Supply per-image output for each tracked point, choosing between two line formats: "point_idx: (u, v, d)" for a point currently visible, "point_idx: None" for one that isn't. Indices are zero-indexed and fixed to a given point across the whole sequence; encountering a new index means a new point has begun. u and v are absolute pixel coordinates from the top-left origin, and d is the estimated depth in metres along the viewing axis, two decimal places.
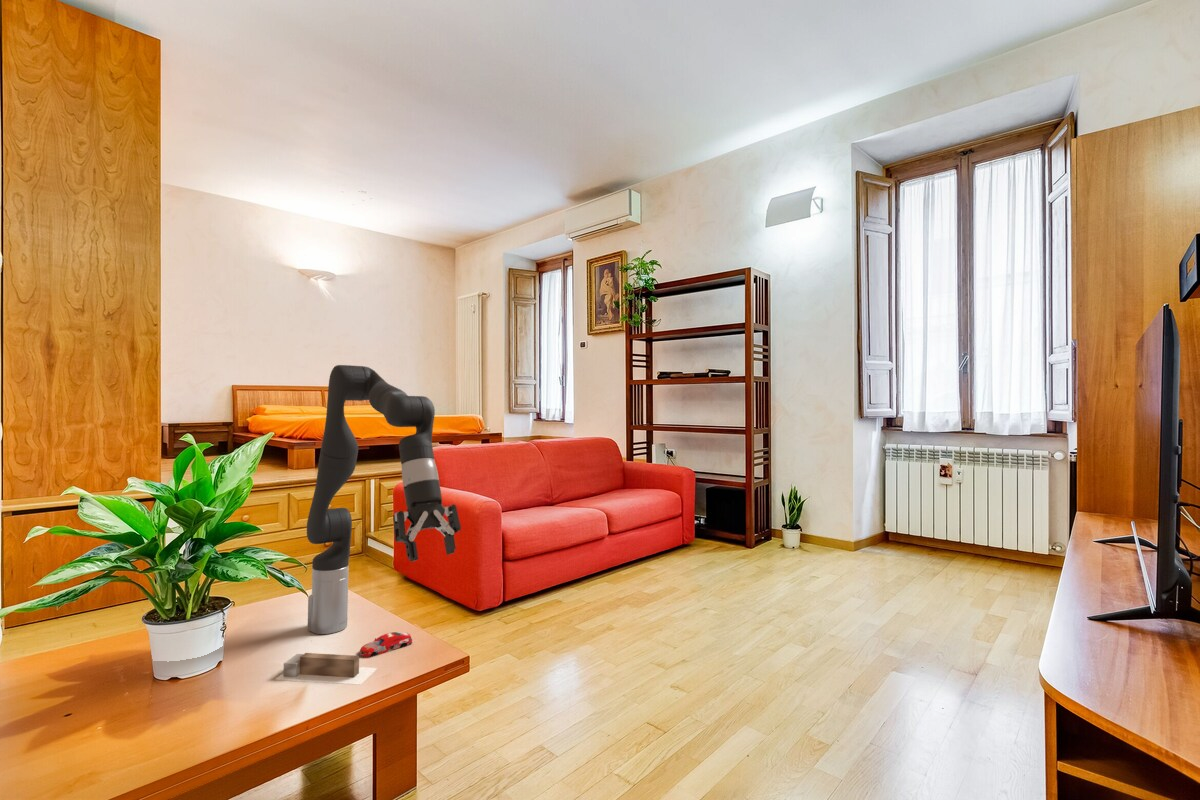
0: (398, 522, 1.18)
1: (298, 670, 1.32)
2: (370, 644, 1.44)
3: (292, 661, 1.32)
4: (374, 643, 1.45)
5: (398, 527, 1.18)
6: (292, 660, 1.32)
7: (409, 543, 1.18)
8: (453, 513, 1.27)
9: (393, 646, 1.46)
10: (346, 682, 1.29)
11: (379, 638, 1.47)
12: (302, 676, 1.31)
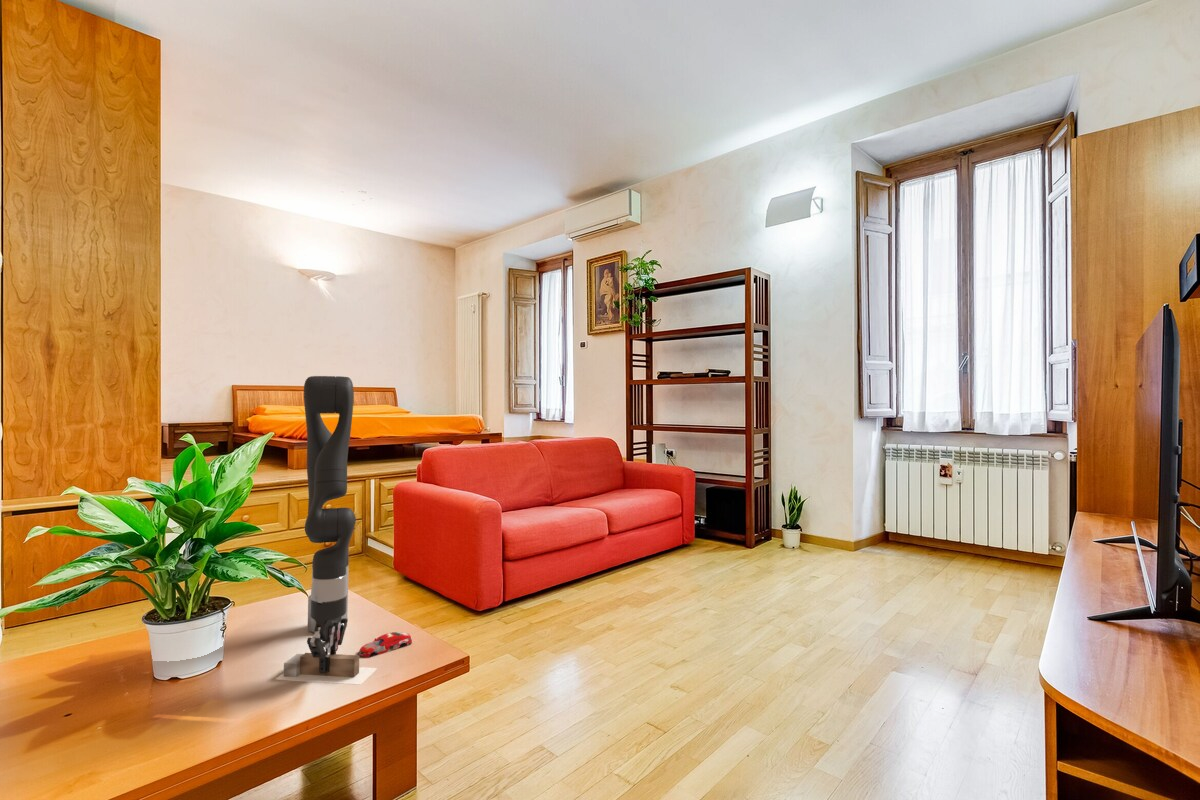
0: (318, 648, 1.27)
1: (299, 670, 1.32)
2: (369, 644, 1.44)
3: (292, 661, 1.32)
4: (374, 643, 1.45)
5: (318, 651, 1.28)
6: (292, 660, 1.32)
7: (325, 658, 1.31)
8: (343, 626, 1.37)
9: (393, 646, 1.46)
10: (346, 682, 1.29)
11: (379, 638, 1.47)
12: (302, 676, 1.31)
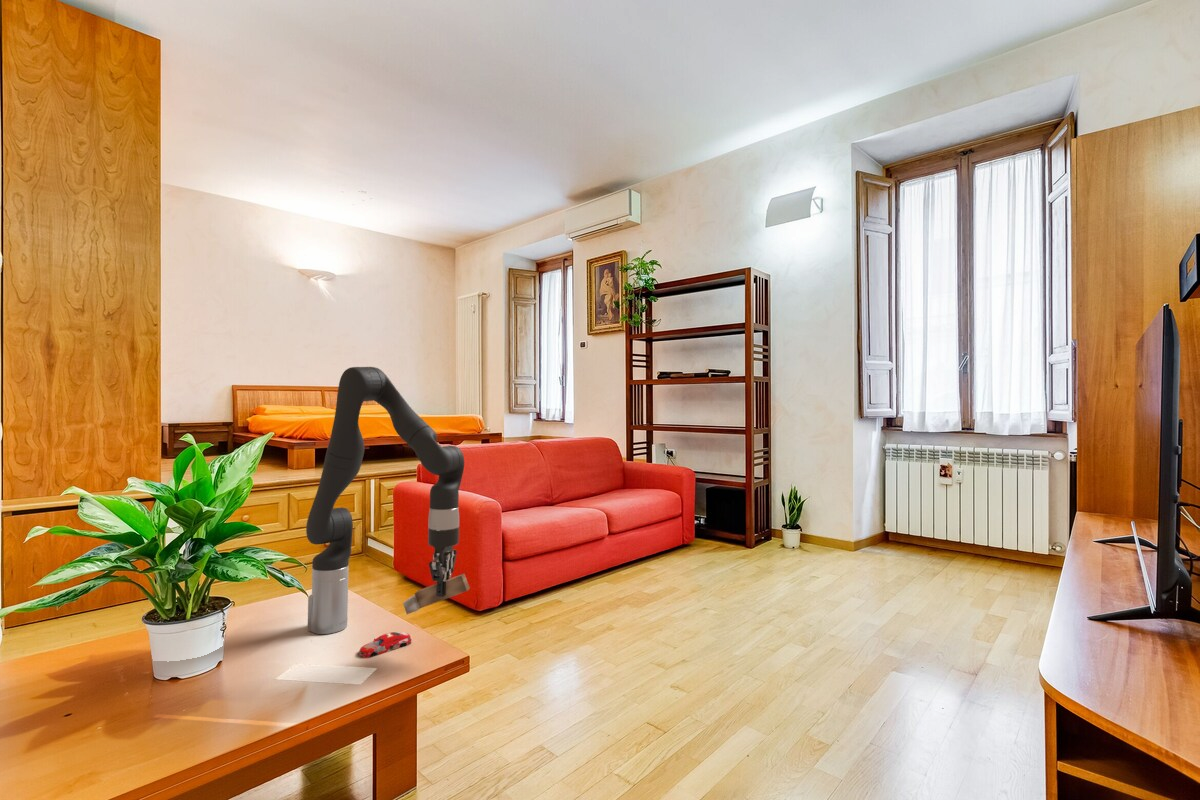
0: (438, 571, 1.39)
1: (418, 605, 1.44)
2: (369, 645, 1.44)
3: (409, 599, 1.44)
4: (373, 643, 1.45)
5: (438, 574, 1.40)
6: (409, 599, 1.45)
7: (442, 582, 1.43)
8: (454, 557, 1.50)
9: (393, 646, 1.46)
10: (346, 682, 1.29)
11: (378, 638, 1.46)
12: (302, 676, 1.31)
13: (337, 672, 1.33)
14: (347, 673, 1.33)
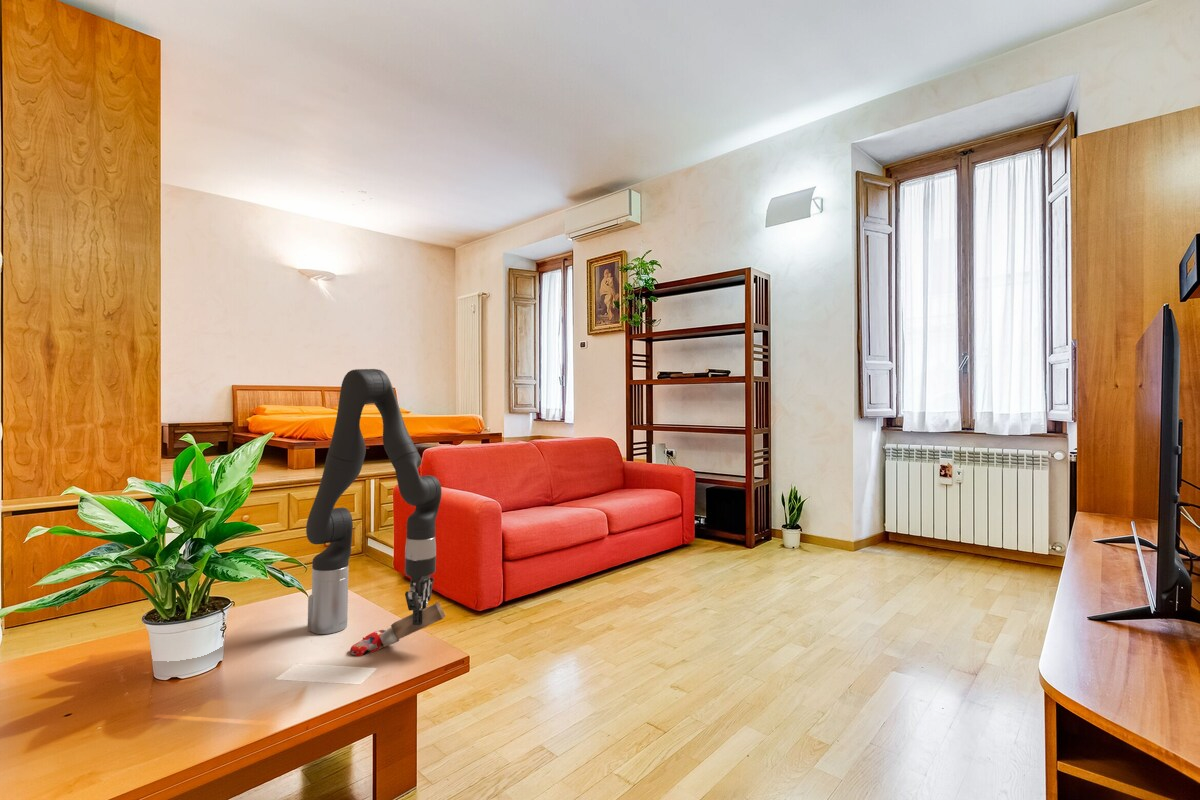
0: (414, 601, 1.41)
1: (395, 636, 1.46)
2: (360, 643, 1.45)
3: (386, 632, 1.46)
4: (364, 642, 1.46)
5: (414, 604, 1.41)
6: (386, 631, 1.46)
7: (418, 612, 1.44)
8: (431, 584, 1.51)
9: None
10: (346, 682, 1.29)
11: (368, 637, 1.47)
12: (302, 676, 1.31)
13: (337, 672, 1.33)
14: (347, 673, 1.33)
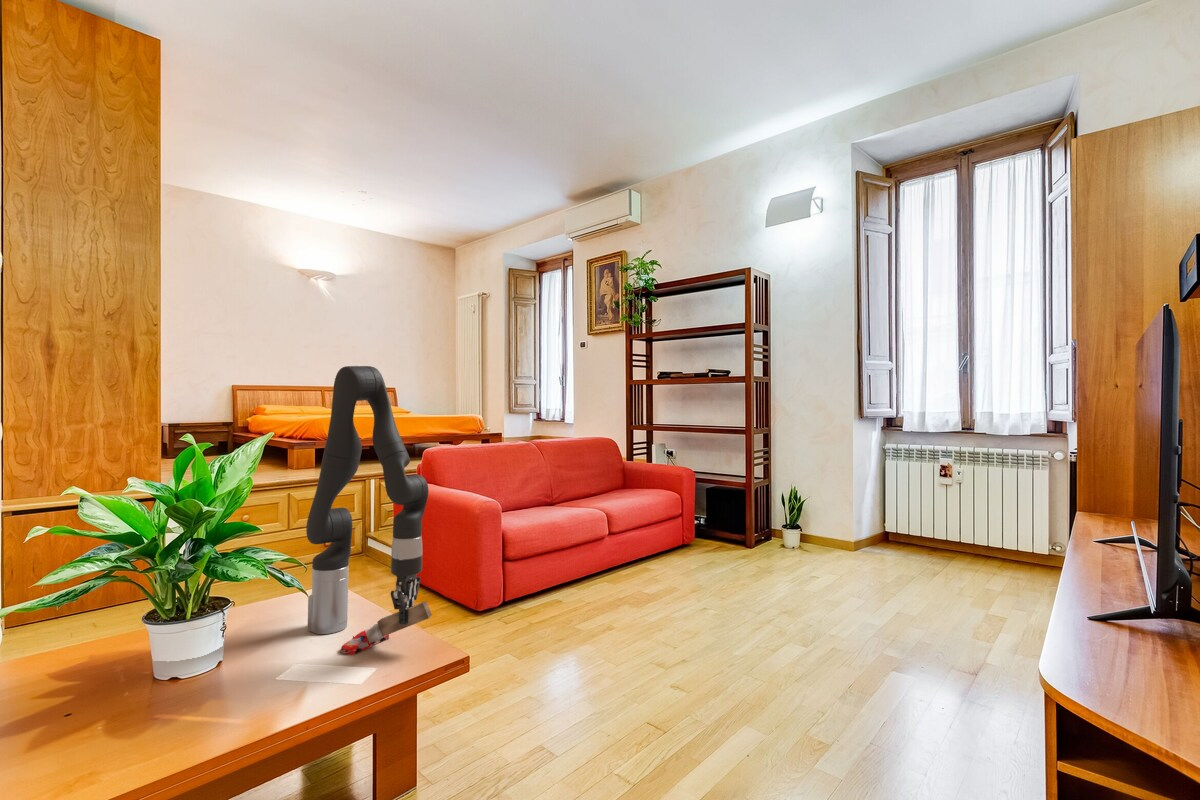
0: (400, 600, 1.41)
1: (380, 633, 1.46)
2: (351, 642, 1.46)
3: (372, 628, 1.46)
4: (355, 640, 1.46)
5: (400, 603, 1.42)
6: (372, 628, 1.46)
7: (405, 611, 1.45)
8: (418, 584, 1.51)
9: (374, 641, 1.49)
10: (346, 682, 1.29)
11: (358, 635, 1.48)
12: (302, 676, 1.31)
13: (337, 672, 1.33)
14: (347, 673, 1.33)
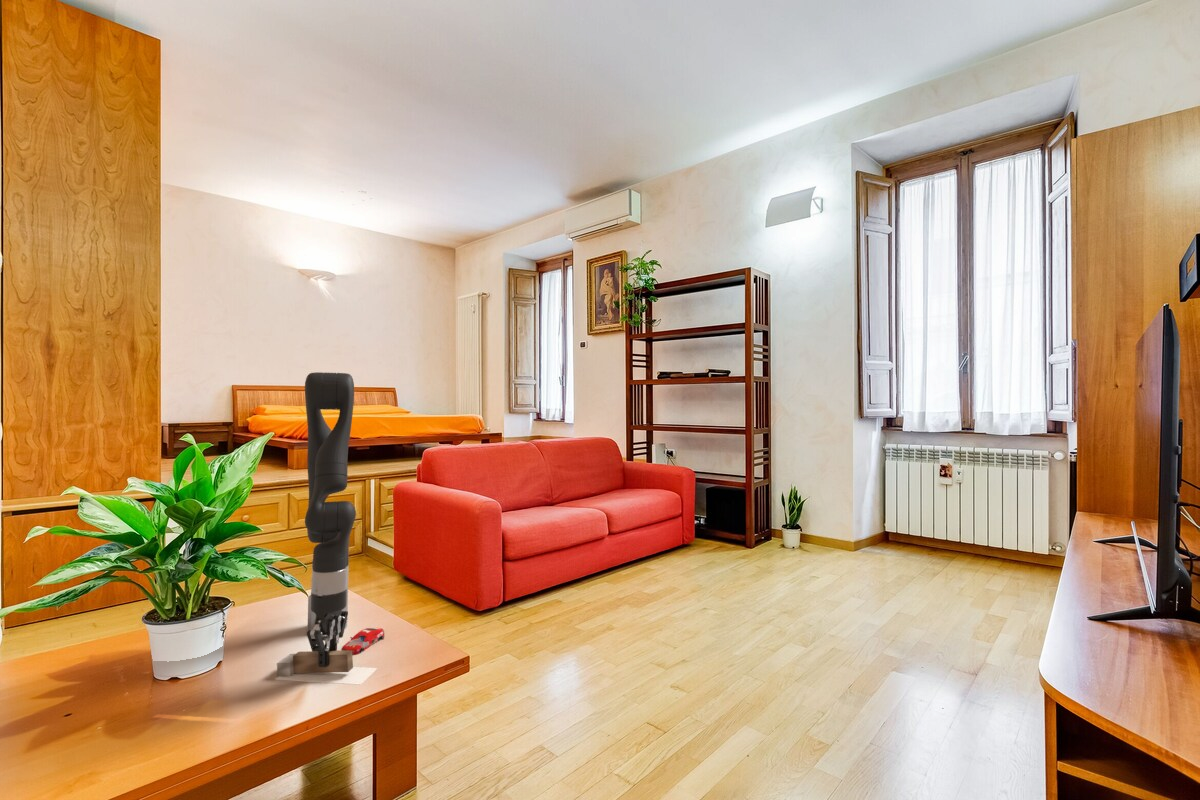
0: (317, 640, 1.27)
1: (292, 669, 1.32)
2: (352, 643, 1.45)
3: (286, 660, 1.32)
4: (355, 641, 1.46)
5: (318, 644, 1.27)
6: (285, 659, 1.32)
7: (324, 652, 1.30)
8: (344, 619, 1.38)
9: (373, 640, 1.49)
10: (346, 682, 1.29)
11: (357, 636, 1.48)
12: (302, 676, 1.31)
13: (337, 672, 1.33)
14: (347, 673, 1.33)
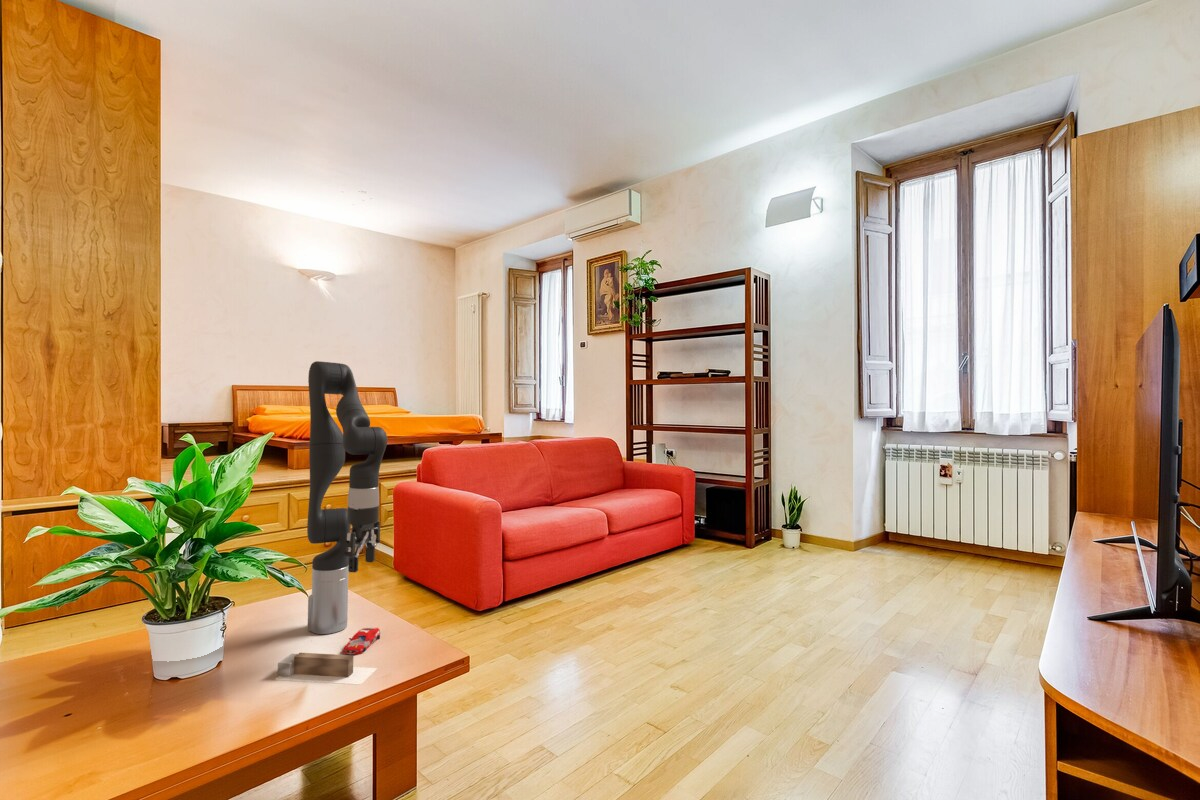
0: (351, 542, 1.41)
1: (293, 670, 1.32)
2: (353, 643, 1.45)
3: (286, 661, 1.32)
4: (356, 641, 1.46)
5: (351, 546, 1.41)
6: (286, 660, 1.32)
7: (354, 558, 1.43)
8: (377, 529, 1.54)
9: (373, 639, 1.50)
10: (346, 682, 1.29)
11: (357, 636, 1.48)
12: (302, 676, 1.31)
13: None
14: None
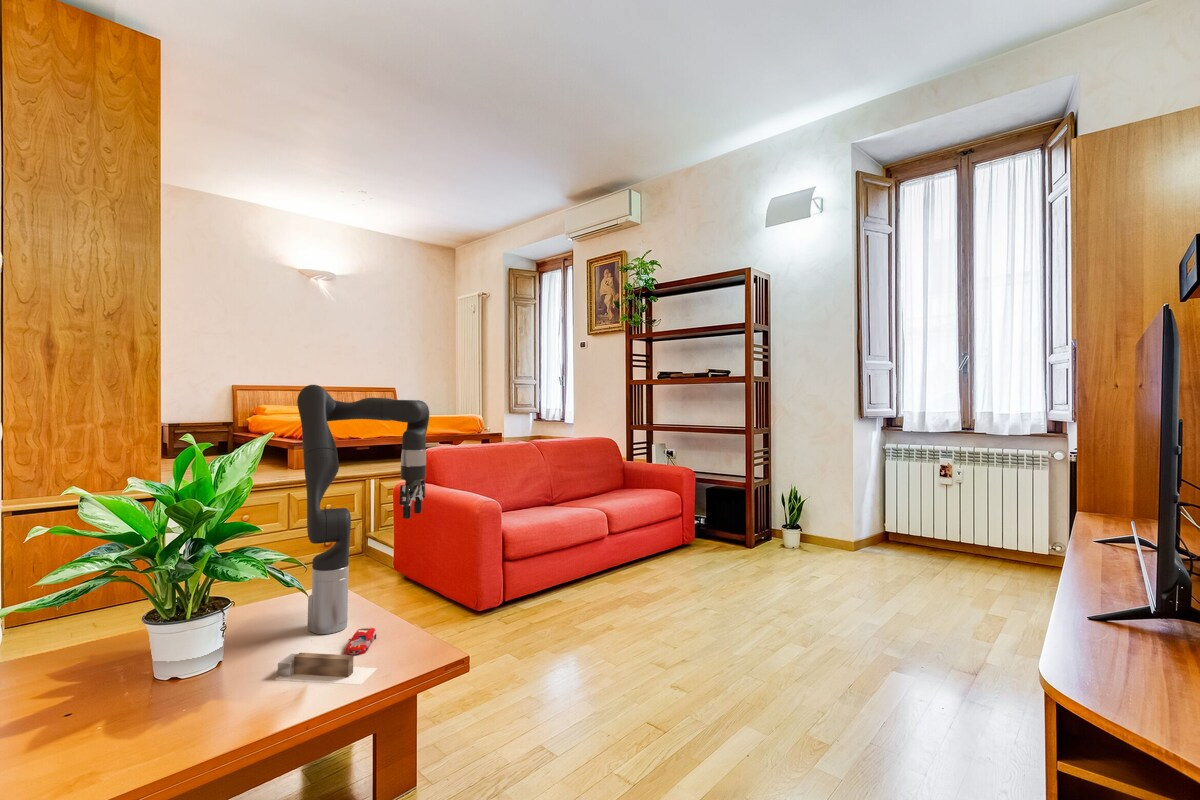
0: (406, 493, 1.73)
1: (293, 670, 1.32)
2: (354, 643, 1.45)
3: (286, 661, 1.32)
4: (357, 641, 1.46)
5: (405, 496, 1.73)
6: (286, 660, 1.32)
7: (408, 507, 1.75)
8: (423, 486, 1.86)
9: (372, 639, 1.50)
10: (346, 682, 1.29)
11: (356, 636, 1.47)
12: (302, 676, 1.31)
13: None
14: None
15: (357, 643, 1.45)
